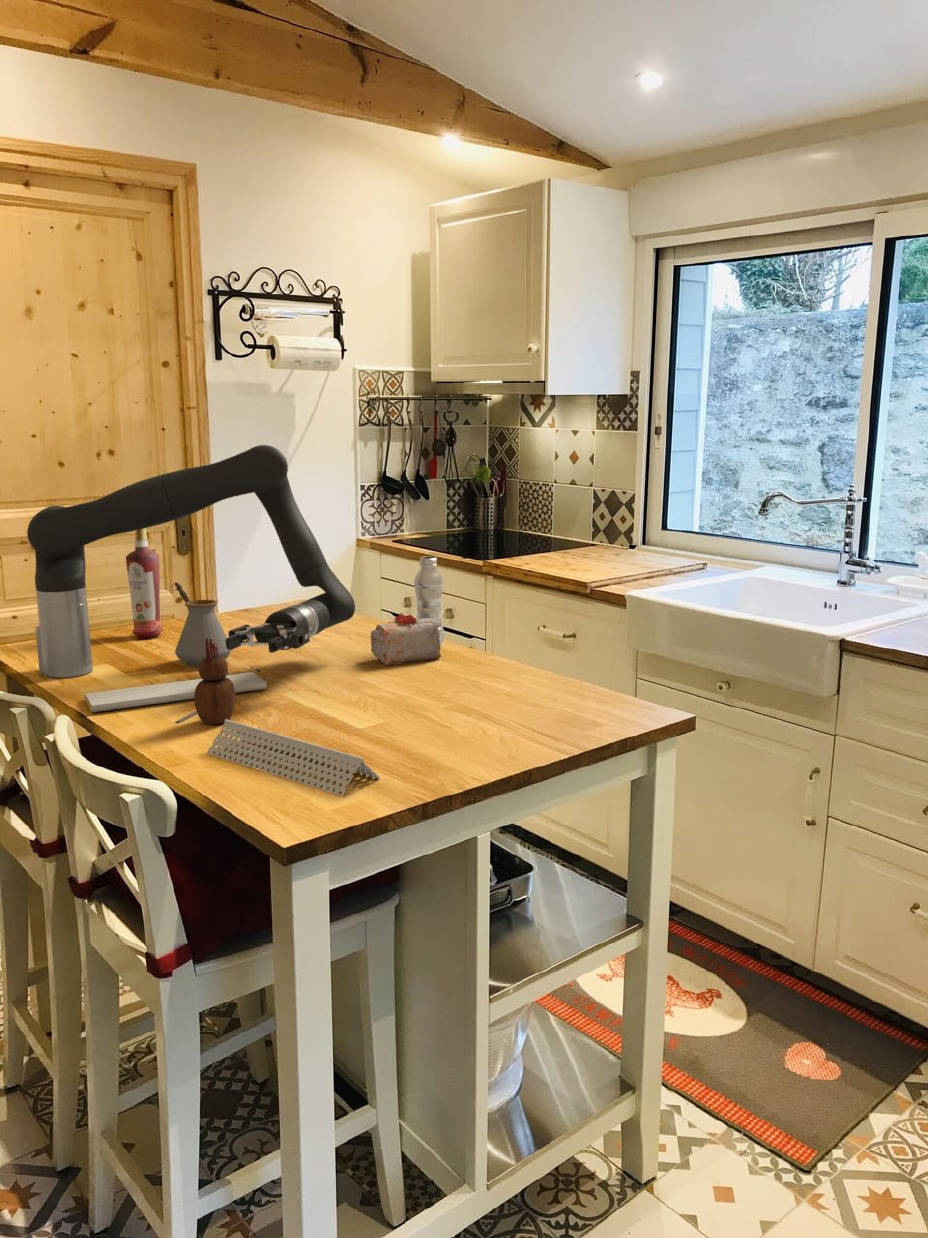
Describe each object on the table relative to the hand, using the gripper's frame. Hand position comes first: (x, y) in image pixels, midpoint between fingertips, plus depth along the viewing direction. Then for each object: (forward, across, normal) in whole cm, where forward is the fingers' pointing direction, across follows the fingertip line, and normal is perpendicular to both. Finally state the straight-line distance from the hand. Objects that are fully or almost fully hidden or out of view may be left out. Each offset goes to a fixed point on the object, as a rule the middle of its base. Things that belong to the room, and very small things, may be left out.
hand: (249, 645), depth 177 cm
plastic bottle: (-50, +16, +12) cm, 53 cm away
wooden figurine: (+11, 0, +11) cm, 16 cm away
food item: (-38, +15, +12) cm, 42 cm away
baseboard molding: (-1, -16, +10) cm, 19 cm away
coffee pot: (-26, -28, +11) cm, 40 cm away
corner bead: (+26, +22, +12) cm, 36 cm away
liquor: (-40, -50, +10) cm, 65 cm away
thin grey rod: (+4, -6, +10) cm, 13 cm away
